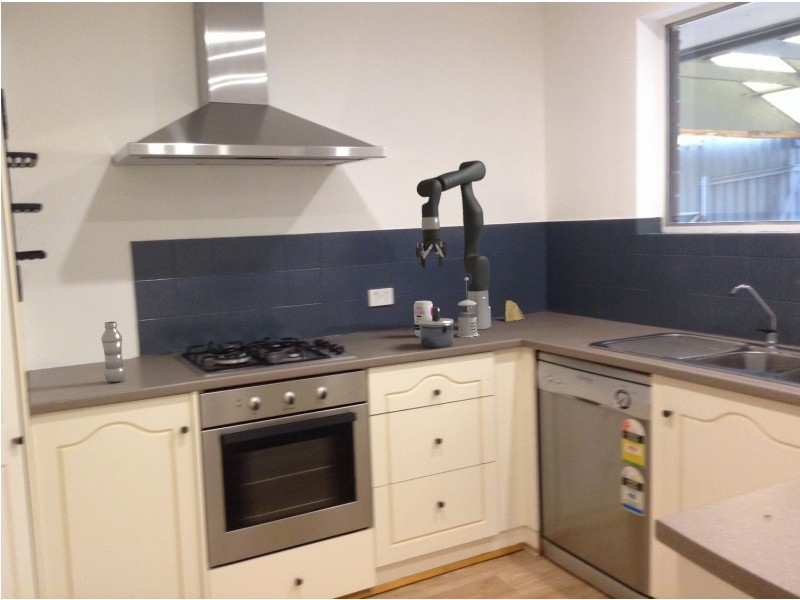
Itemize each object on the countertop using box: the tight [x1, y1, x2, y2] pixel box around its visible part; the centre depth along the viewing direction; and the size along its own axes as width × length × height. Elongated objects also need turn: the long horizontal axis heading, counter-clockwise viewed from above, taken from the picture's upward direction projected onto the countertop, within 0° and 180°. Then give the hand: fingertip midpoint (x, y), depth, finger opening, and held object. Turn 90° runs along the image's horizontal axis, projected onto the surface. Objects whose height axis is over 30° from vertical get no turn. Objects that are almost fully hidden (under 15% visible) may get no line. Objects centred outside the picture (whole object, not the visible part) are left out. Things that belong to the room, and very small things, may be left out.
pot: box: [419, 323, 454, 349], centre depth 266 cm, size 14×17×9 cm
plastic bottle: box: [101, 321, 126, 383], centre depth 223 cm, size 6×7×20 cm
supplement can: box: [413, 300, 434, 338], centre depth 292 cm, size 8×8×15 cm
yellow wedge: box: [504, 299, 525, 322], centre depth 329 cm, size 11×9×10 cm
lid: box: [419, 306, 454, 325], centre depth 266 cm, size 14×14×6 cm
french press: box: [456, 276, 480, 338], centre depth 287 cm, size 10×12×25 cm
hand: (432, 267), depth 283 cm, fingers open, 8 cm apart
